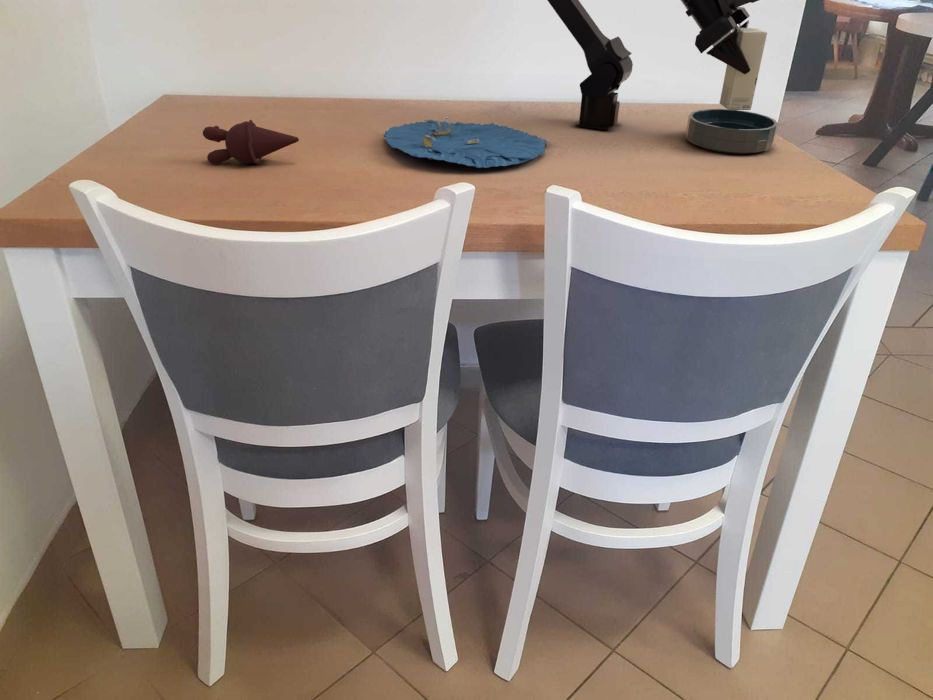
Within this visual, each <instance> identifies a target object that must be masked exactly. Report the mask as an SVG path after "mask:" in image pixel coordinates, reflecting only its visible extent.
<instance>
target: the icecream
mask: <svg viewBox="0 0 933 700" xmlns="http://www.w3.org/2000/svg"><path fill="white" fill-rule="evenodd" d="M202 136H203V137H204V138H205V140H208V141H211V142H215V143H220V142H224V143H225V144H224V145H225V148H220V149H219V148H218V149H215V150H212V151H210V152H208V154H207V156H206V159H207V161H208V163H210V164H222V163H225V162H227V161H229V160H230V159H232V158H233V159H234V160H235V161H237V162H239V163H242V164H250V165H254V164H256V165H260V164H261V161H262V158H264V157H266V156H268V155H271V154H273V153H275V152H277V151H279V150H282V149H284V148H286V147H288V146H291V145H293V144H295V143H298V142H300V141H299V137H297V136H295V135H291V134H287V133H283V132H279V131H275V130H272V129H268V128H264V127H261V126H257V125H256V123H254V121H253V120H252V119H249V120H248V121H246V120H245V121H243V122H239V123H235V124H234V125H233V126H231V127H230V128H229V129H228V130H226V129H224V128H220V127H219V125H214V126H206V127H204V128H203V130H202Z"/></svg>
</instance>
